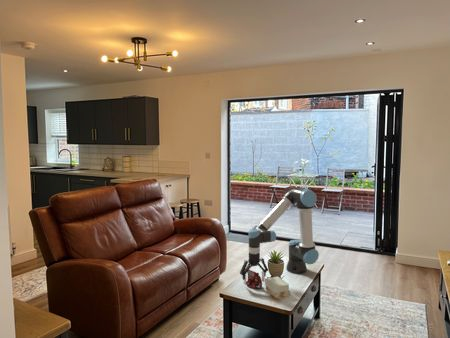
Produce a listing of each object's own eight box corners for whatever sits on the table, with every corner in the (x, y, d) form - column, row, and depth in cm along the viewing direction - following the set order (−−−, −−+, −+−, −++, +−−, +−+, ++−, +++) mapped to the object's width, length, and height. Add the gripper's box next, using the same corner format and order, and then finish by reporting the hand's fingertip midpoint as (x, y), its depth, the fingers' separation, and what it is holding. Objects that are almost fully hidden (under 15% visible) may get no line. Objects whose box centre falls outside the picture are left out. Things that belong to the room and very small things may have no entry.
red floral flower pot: (257, 291, 232) (257, 275, 231) (244, 285, 241) (244, 270, 240) (264, 287, 237) (264, 273, 236) (251, 282, 246) (251, 268, 245)
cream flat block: (278, 281, 237) (278, 276, 237) (288, 290, 224) (288, 284, 224) (264, 284, 234) (264, 278, 233) (274, 293, 221) (274, 287, 220)
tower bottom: (278, 287, 238) (278, 282, 237) (289, 296, 224) (289, 290, 224) (265, 290, 234) (265, 284, 234) (275, 299, 221) (275, 293, 221)
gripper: (268, 248, 244) (268, 277, 246) (235, 252, 236) (235, 283, 238) (273, 251, 237) (273, 282, 239) (239, 256, 229) (239, 287, 231)
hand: (254, 282), depth 239 cm, fingers open, 13 cm apart
